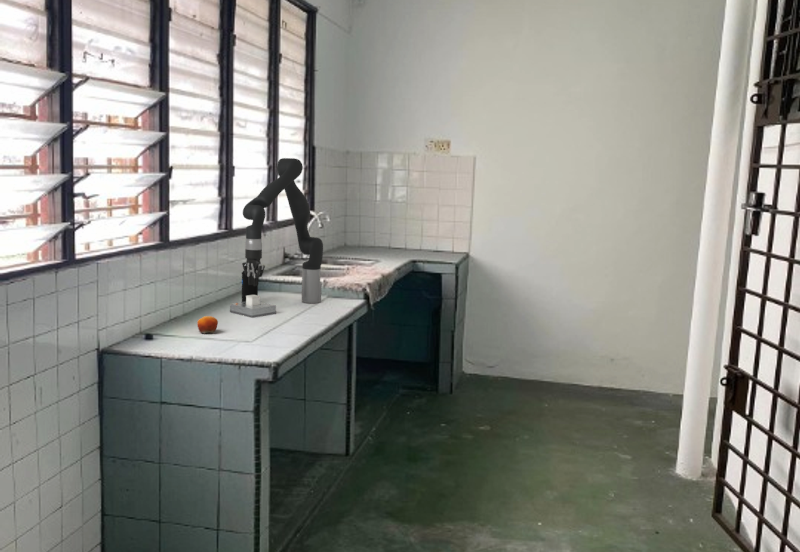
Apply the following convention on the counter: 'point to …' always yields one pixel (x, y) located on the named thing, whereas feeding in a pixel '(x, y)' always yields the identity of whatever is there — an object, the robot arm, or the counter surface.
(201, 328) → the fruit
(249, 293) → the aerosol can
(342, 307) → the counter surface
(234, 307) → the socket
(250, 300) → the white plain square block
